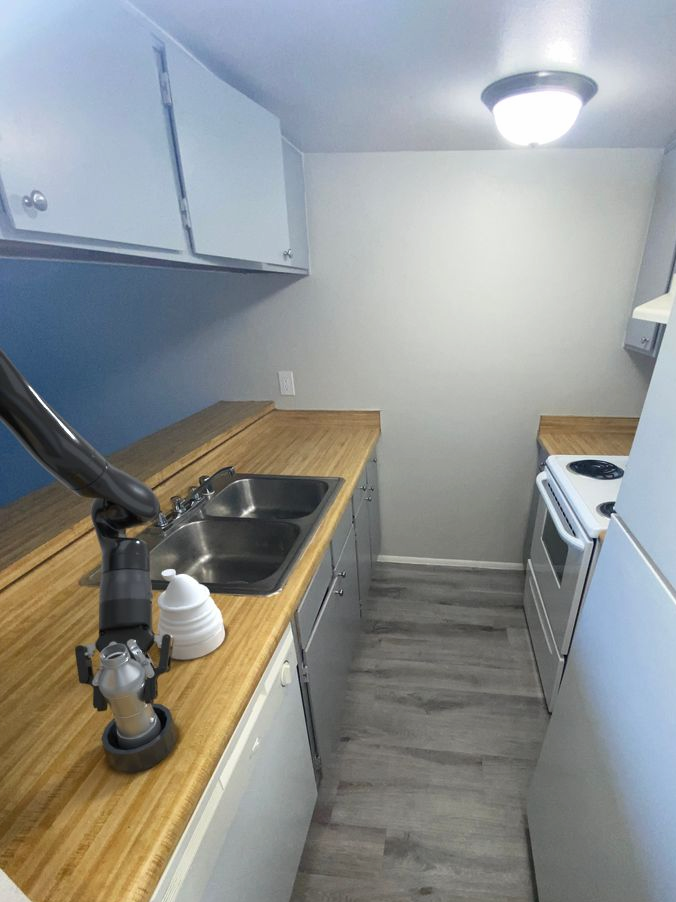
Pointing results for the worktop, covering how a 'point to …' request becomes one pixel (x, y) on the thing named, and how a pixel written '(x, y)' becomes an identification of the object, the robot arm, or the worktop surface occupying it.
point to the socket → (145, 754)
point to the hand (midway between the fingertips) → (126, 706)
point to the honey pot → (189, 617)
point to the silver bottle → (127, 697)
